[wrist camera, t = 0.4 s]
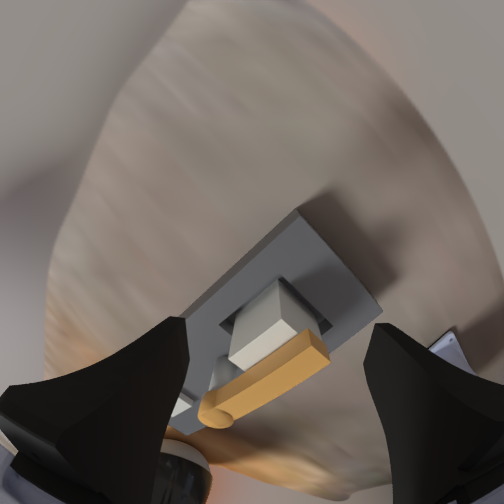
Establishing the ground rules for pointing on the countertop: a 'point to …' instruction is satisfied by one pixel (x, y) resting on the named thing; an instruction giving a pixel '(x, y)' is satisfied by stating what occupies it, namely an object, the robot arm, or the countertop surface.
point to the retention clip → (264, 380)
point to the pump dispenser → (181, 475)
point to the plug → (268, 325)
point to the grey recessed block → (253, 284)
